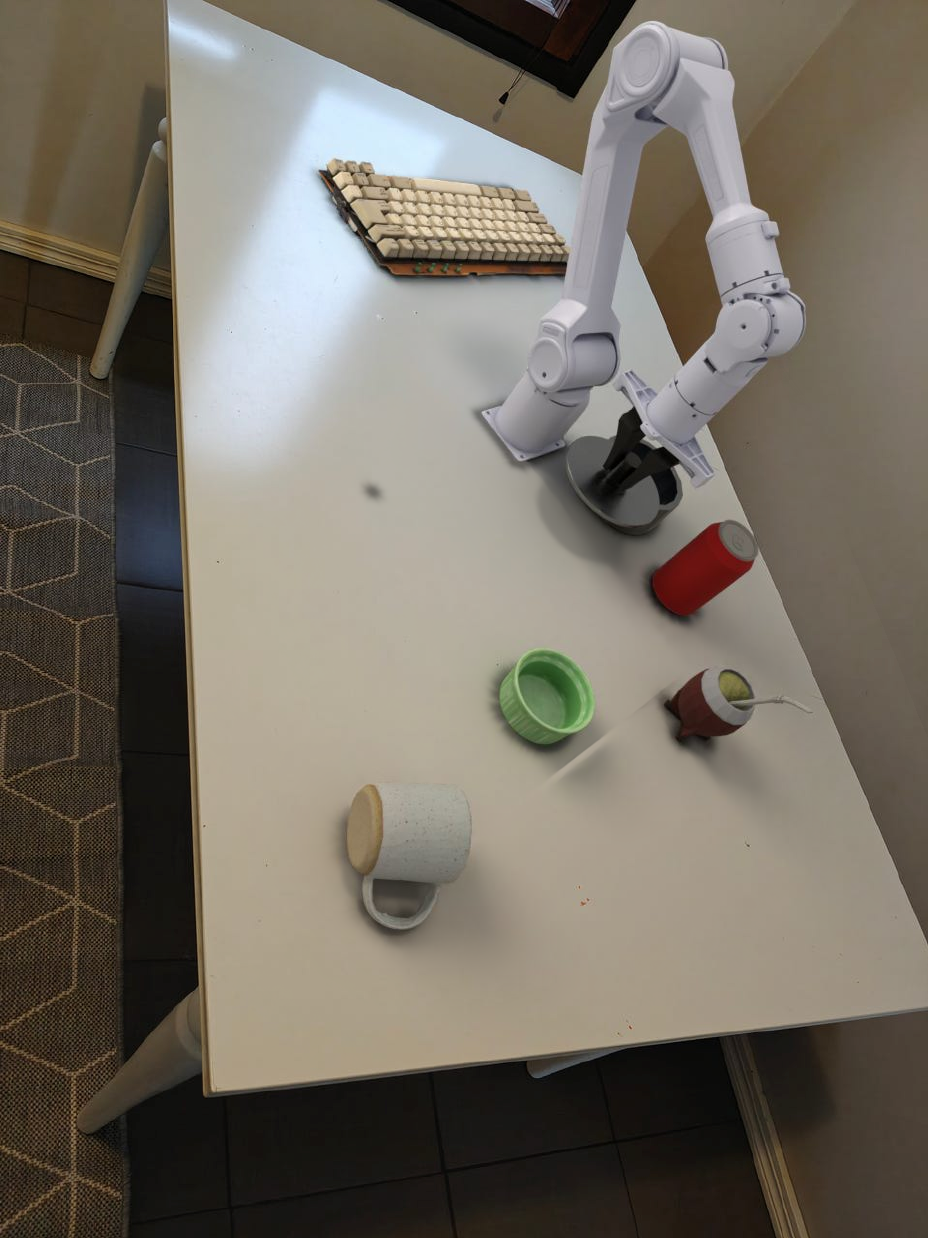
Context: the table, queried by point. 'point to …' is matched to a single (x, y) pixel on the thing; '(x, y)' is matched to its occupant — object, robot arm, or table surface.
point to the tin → (666, 488)
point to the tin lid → (610, 483)
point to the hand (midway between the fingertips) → (616, 476)
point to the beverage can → (705, 567)
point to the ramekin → (547, 696)
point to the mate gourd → (717, 703)
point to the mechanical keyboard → (445, 224)
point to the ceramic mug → (409, 839)
